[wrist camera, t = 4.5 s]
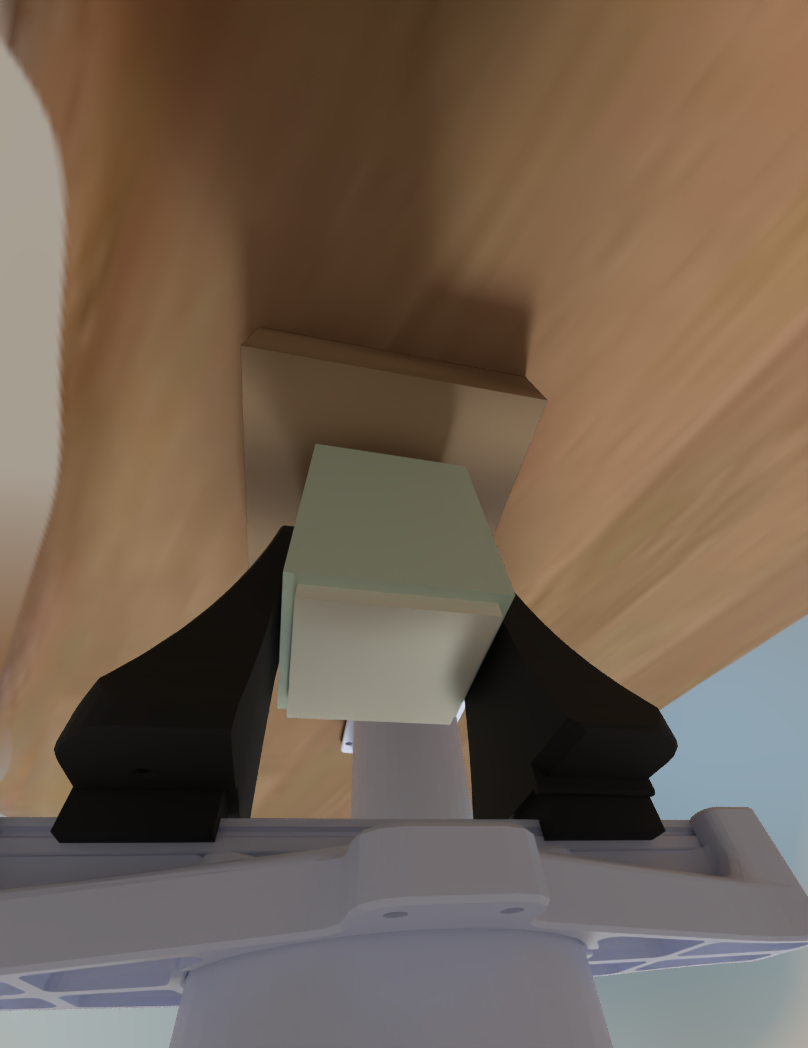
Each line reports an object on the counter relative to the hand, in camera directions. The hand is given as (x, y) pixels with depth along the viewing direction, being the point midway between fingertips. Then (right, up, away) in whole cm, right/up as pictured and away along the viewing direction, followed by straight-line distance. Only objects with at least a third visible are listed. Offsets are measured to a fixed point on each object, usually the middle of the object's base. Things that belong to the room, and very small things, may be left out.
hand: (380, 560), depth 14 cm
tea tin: (0, +1, +2) cm, 2 cm away
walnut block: (0, +4, +5) cm, 6 cm away
